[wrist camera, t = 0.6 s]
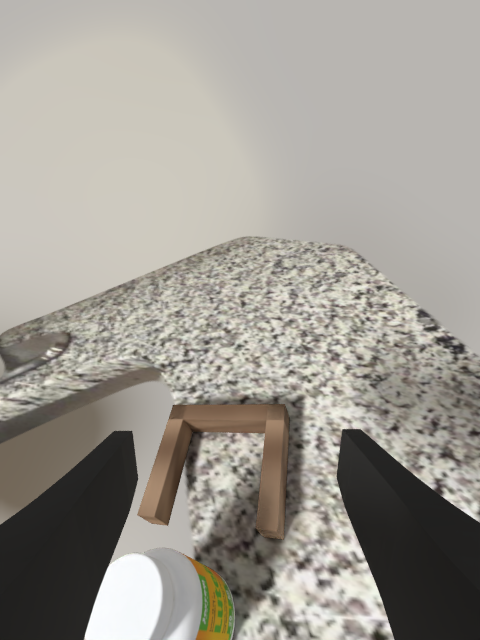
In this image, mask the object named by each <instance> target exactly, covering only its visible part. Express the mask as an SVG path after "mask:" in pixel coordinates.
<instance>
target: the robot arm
mask: <svg viewBox="0 0 480 640" xmlns="http://www.w3.org/2000/svg"><path fill="white" fill-rule="evenodd" d="M337 480H338V484H339V488H340V491H341V495H342V498H343V502H344V505H345V508H346V511H347V514H348V516H349V519H350V521H351V524H352V526H353V528H354V531H355V533H356V536H357V538H358V541H359V543H360V546H361V548H362V551H363V553H364V555H365V558H366V560H367V563H368V565H369V568H370V570H371V572H372V575H373V577H374V580H375V582H376V585H377V588H378V590H379V593H380V596H381V599H382V601H383V605H384V608H385V611H386V614H387V617H388V620H389V623H390V627H391V630H392V633H393V636H394V639H395V640H480V523H479V522H478V521H476V520H475V519H473V518H472V517H470V516H469V515H467V514H466V513H464V512H463V511H461V510H460V509H458V508H457V507H456V506H454V505H453V504H451V503H450V502H449V501H447V500H446V499H444V498H443V497H442V496H440V495H439V494H438V493H436V492H435V491H434V490H432V489H431V488H430V487H429V486H427V485H426V484H425V483H423V482H422V481H421V480H420V479H418V478H417V477H416V476H415V475H413V474H412V473H411V472H410V471H408V470H407V469H406V468H405V467H404V466H402V465H401V464H400V463H399V462H398V461H396V460H395V459H394V458H393V457H392V456H391V455H390V454H388V453H387V452H386V451H385V450H384V449H383V448H381V447H380V446H379V445H378V444H377V443H376V442H375V441H373V440H372V439H371V438H370V437H369V436H368V435H367V434H365V433H364V432H363V431H362V430H360V429H342V437H341V445H340V453H339V462H338V470H337ZM137 481H138V474H137V466H136V457H135V449H134V441H133V434H132V431H114V432H113V433H112V434H110V435H109V436H108V437H107V438H106V439H105V440H104V441H103V442H102V443H101V444H99V445H98V446H97V447H96V448H95V449H94V450H93V451H92V452H91V453H90V454H88V455H87V456H86V457H85V458H84V459H83V460H82V461H80V462H79V463H78V464H77V465H76V466H75V467H74V468H73V469H72V470H70V471H69V472H68V473H67V474H66V475H65V476H63V477H62V478H61V479H60V480H58V481H57V482H56V483H55V484H53V485H52V486H51V487H50V488H49V489H47V490H46V491H45V492H44V493H42V494H41V495H40V496H39V497H38V498H37V499H35V500H34V501H32V502H31V503H30V504H29V505H27V506H26V507H25V508H23V509H22V510H20V511H19V512H18V513H16V514H15V515H14V516H12V517H11V518H9V519H8V520H6V521H5V522H4V523H2V524H1V525H0V640H84V637H85V633H86V630H87V627H88V623H89V620H90V617H91V613H92V610H93V607H94V603H95V601H96V598H97V595H98V592H99V589H100V586H101V584H102V581H103V579H104V576H105V573H106V571H107V568H108V566H109V563H110V560H111V558H112V555H113V553H114V550H115V548H116V545H117V543H118V540H119V538H120V535H121V532H122V529H123V527H124V524H125V522H126V519H127V517H128V514H129V511H130V508H131V504H132V500H133V497H134V493H135V489H136V485H137Z"/></svg>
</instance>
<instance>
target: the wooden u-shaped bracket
mask: <svg viewBox="0 0 480 640" xmlns="http://www.w3.org/2000/svg"><path fill="white" fill-rule="evenodd" d="M289 420H290V418H289V415H288V412H287V409H286V406H285V404H249V405H173V407H172V410H171V414H170V417H169V420H168V422H167V425H166V429H165V432H164V435H163V438H162V441H161V444H160V447H159V450H158V453H157V456H156V459H155V463H154V465H153V468H152V471H151V474H150V478H149V481H148V484H147V487H146V490H145V493H144V496H143V499H142V502H141V505H140V508H139V511H138V514H137V515H138V516H140V517H142V518H143V519H145V520H147V521H148V522H150V523H152V524H159V525H167V526H168V523H169V520H170V516H171V512H172V508H173V505H174V501H175V497H176V493H177V489H178V486H179V482H180V478H181V474H182V470H183V467H184V463H185V459H186V455H187V451H188V448H189V444H190V440H191V436H192V432H231V433H265V440H264V450H263V460H262V470H261V480H260V490H259V500H258V510H257V520H256V529H257V530H258V531H259V533H260V534H261V535H262V536H263V537H267V538H275V539H284V526H285V505H286V484H287V462H288V441H289Z"/></svg>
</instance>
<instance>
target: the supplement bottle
mask: <svg viewBox="0 0 480 640" xmlns="http://www.w3.org/2000/svg"><path fill="white" fill-rule="evenodd" d="M234 626H235V607H234V601H233V597H232V594H231V591H230V589H229V587H228V585H227V583H226V582H225V580H224V579H223V578H222V577H221V576H220V575H219V574H218V573H217V572H215V571H214V570H212V569H211V568H209V567H207V566H205V565H203V564H201V563H199V562H197V561H196V560H194V559H192V558H190V557H188V556H186V555H184V554H182V553H180V552H178V551H176V550H173V549H169V548H156V549H152V550H149V551H147V552H144V553H130V554H127V555H124V556H122V557H120V558H118V559H117V560H116V561H114V562H113V563H112V564H111V565H110V566H109V567H108V568H107V571H106V573H105V576H104V579H103V581H102V584H101V586H100V589H99V592H98V595H97V598H96V601H95V603H94V607H93V610H92V613H91V617H90V620H89V623H88V627H87V630H86V633H85V638H86V640H232V637H233V632H234Z"/></svg>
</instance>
